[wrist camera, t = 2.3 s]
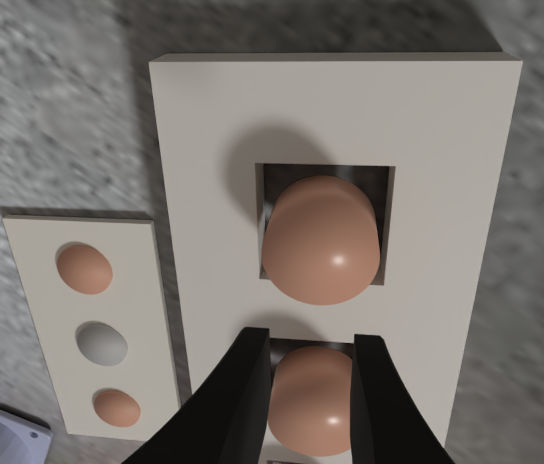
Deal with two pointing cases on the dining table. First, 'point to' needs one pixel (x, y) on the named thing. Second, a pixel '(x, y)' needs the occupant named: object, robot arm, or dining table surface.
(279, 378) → the button
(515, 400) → the dining table surface
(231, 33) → the dining table surface
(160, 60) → the button board
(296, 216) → the button
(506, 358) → the dining table surface
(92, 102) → the dining table surface
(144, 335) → the pattern card
